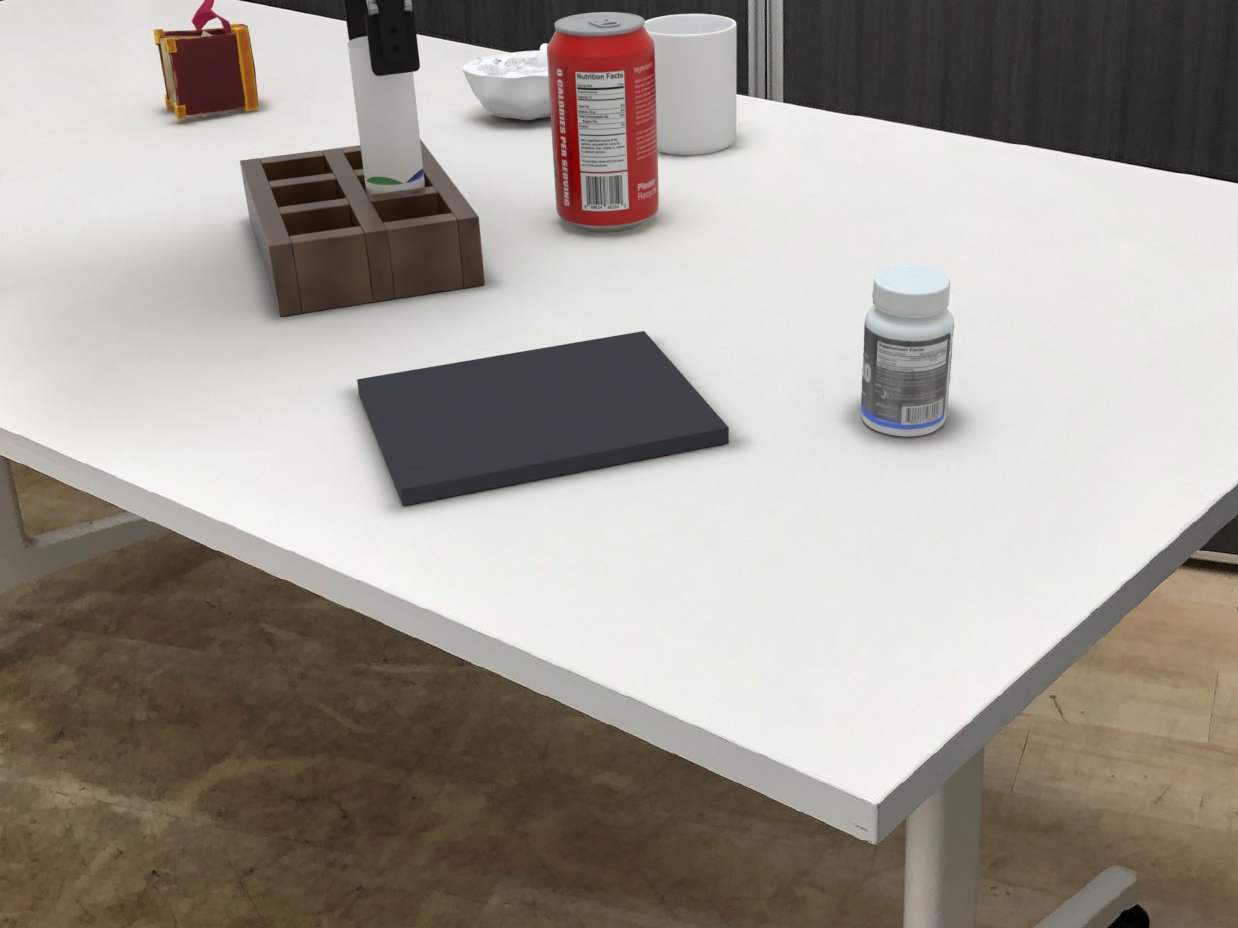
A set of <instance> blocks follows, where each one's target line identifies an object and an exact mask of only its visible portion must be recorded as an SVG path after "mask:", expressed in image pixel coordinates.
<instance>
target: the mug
mask: <svg viewBox="0 0 1238 928" xmlns="http://www.w3.org/2000/svg"><path fill="white" fill-rule="evenodd" d="M737 27H738V26H737V21H736V20H735V19H733V18H730V17H727V16H723V15H717V14H710V13H709V14H708V13H679V14H668V15H663V16H657V17H653V18H650V19H649V18H648V19H647V20H645V23H644V28H645V29H646V31H647V32H648V34H649V35H650V37H651V38H652V39H653V41H654V44H655V71H656V110H657V149H658V153H662V154H665V155H666V154H667V155H675V156H698V155H699V156H700V155H707V154H711V153H716V152H719V151H722V150H725V149H727V148H728V147H730V146H731V145H732V144H733V143H734V141H735V139H736V134H737V52H738V51H737V50H738V49H737V36H738V35H737V34H738V33H737Z"/></svg>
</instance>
